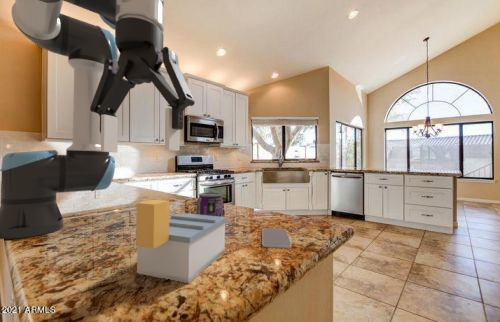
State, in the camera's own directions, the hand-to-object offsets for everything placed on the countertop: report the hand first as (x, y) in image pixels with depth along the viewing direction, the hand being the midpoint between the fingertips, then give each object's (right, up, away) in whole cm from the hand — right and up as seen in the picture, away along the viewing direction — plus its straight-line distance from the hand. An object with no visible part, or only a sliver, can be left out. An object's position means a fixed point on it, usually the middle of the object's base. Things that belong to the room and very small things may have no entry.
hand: (139, 151), depth 40 cm
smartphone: (+26, -24, +25) cm, 43 cm away
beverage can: (+8, -23, +24) cm, 34 cm away
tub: (+5, -23, +9) cm, 25 cm away
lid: (+5, -17, +7) cm, 19 cm away
